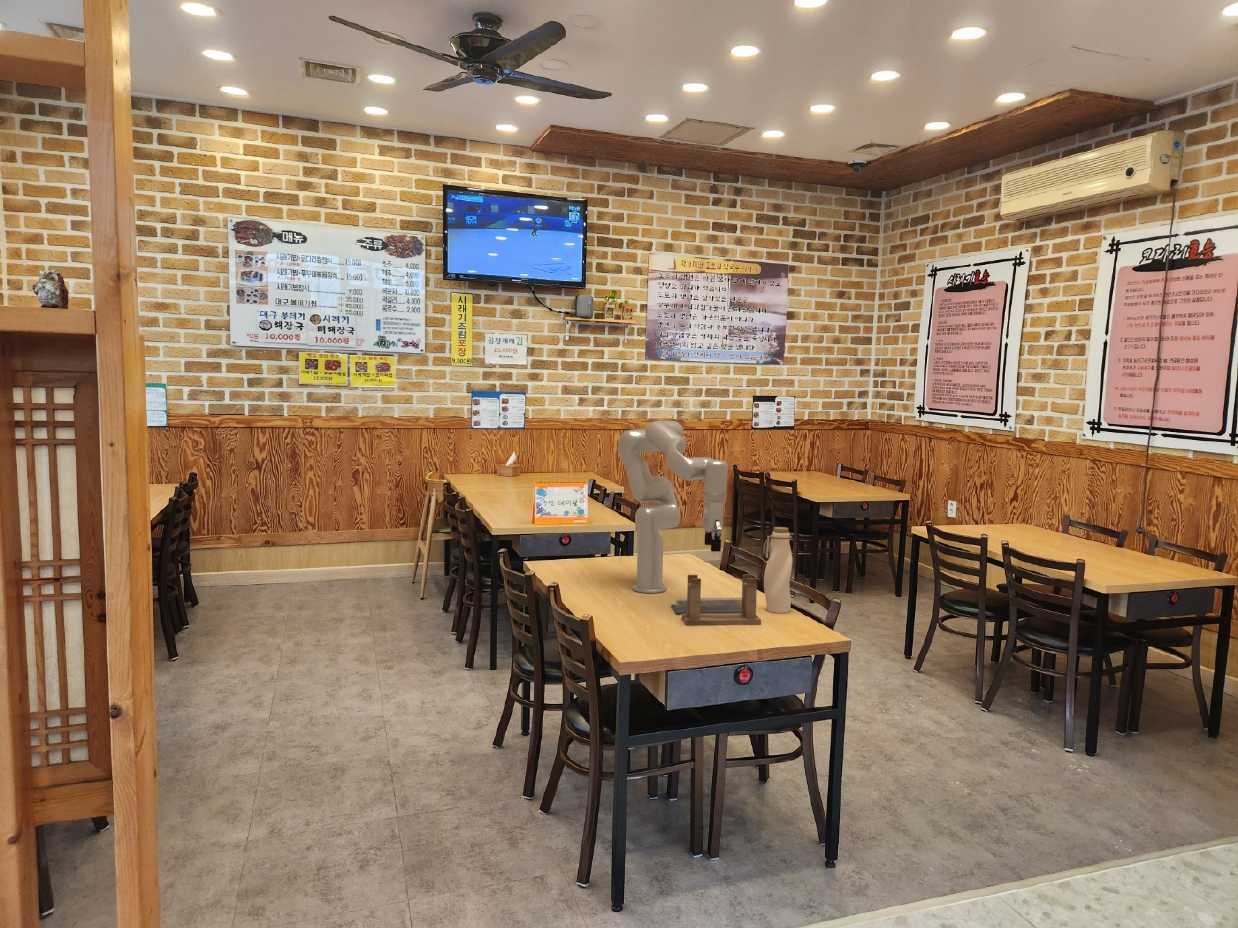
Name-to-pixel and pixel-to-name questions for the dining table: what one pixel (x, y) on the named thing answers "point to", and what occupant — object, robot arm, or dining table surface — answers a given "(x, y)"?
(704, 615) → the walnut rack
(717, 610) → the black mat
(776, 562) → the water bottle
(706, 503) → the robot arm
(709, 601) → the steel rail
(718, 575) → the dining table surface
